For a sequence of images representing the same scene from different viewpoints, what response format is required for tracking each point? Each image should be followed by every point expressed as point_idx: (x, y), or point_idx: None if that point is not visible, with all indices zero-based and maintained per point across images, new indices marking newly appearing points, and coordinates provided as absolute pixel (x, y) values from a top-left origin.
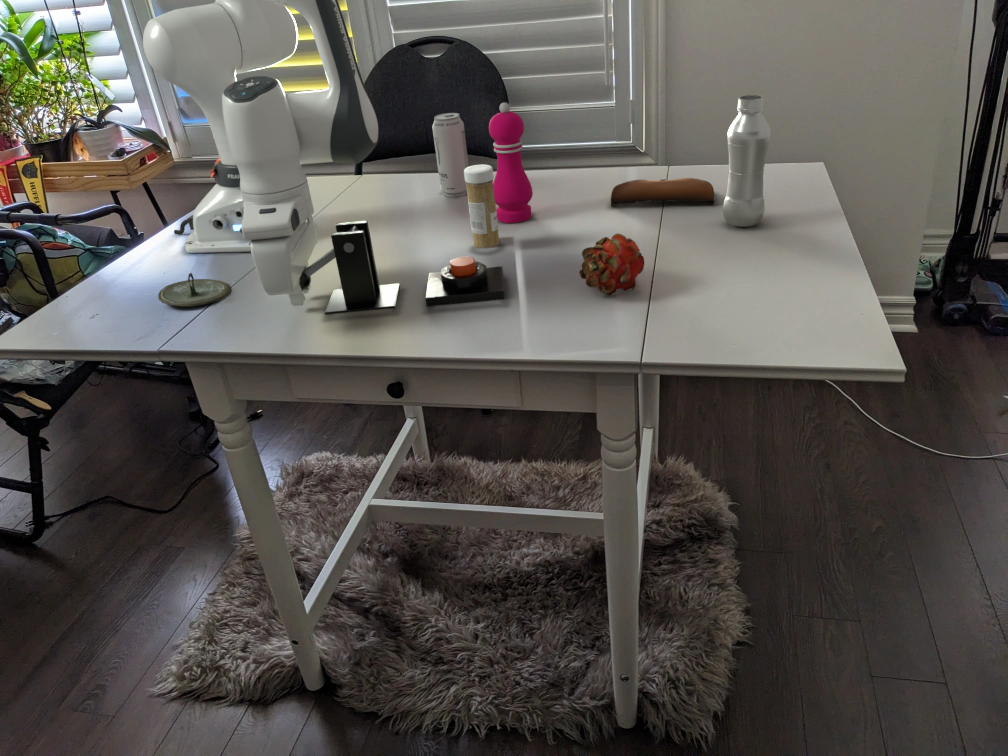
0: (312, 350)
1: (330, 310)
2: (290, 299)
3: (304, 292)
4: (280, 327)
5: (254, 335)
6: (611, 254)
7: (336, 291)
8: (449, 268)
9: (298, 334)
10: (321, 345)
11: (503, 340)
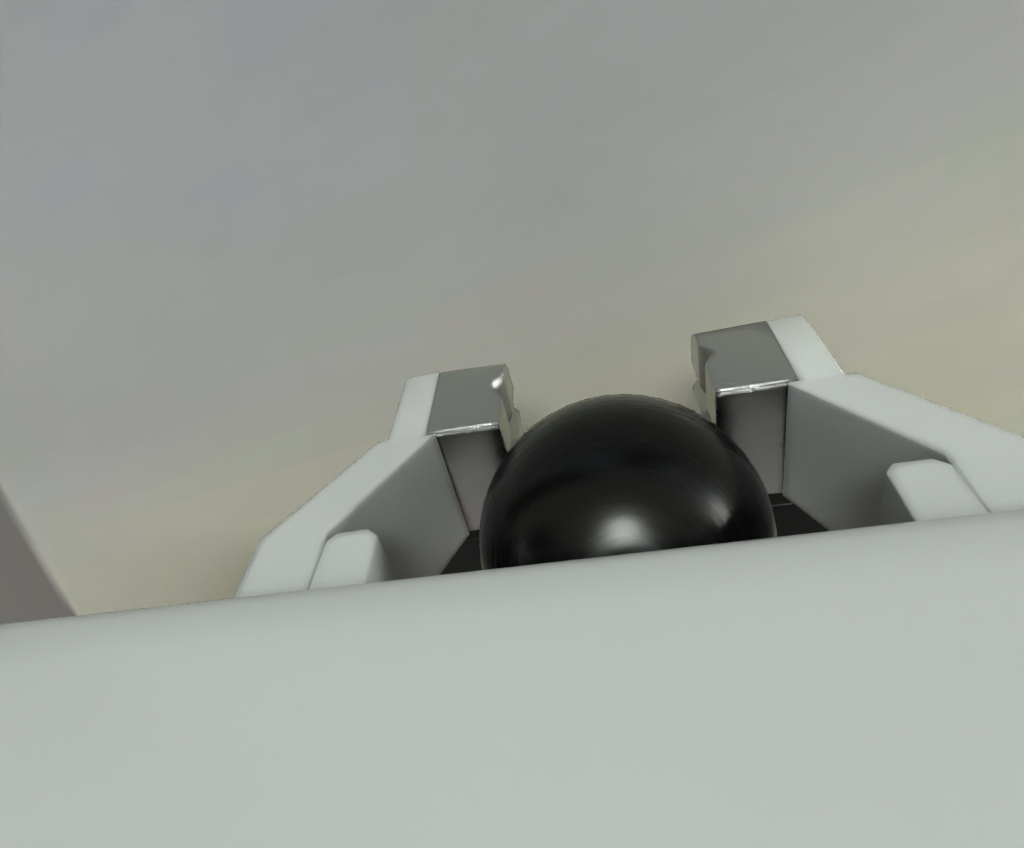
0: (63, 539)
1: (459, 567)
2: (400, 409)
3: (694, 393)
4: (275, 232)
5: (59, 33)
6: None
7: (788, 525)
8: None
9: (208, 408)
10: (132, 561)
11: None
